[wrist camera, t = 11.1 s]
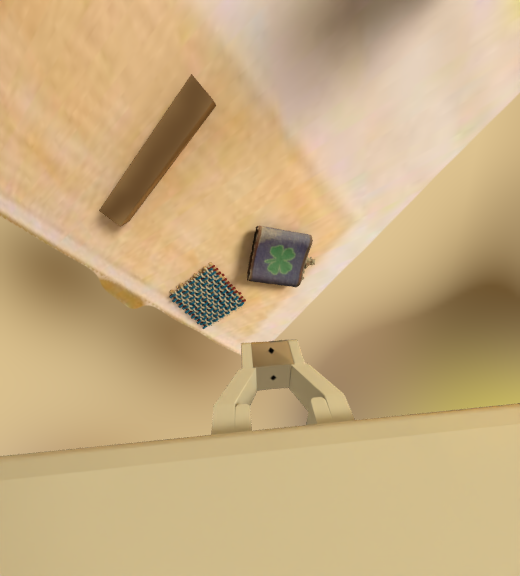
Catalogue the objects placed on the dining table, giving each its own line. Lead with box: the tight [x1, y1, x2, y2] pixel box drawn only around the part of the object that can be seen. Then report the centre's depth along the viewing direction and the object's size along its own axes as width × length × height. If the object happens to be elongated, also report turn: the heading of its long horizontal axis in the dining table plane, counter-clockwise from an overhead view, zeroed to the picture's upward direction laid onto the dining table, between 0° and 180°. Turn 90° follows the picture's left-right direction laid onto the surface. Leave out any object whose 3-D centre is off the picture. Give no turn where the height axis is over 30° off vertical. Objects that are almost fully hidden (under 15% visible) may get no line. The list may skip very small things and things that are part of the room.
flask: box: [247, 226, 315, 287], centre depth 37 cm, size 9×3×11 cm
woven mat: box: [170, 262, 246, 329], centre depth 41 cm, size 10×11×2 cm
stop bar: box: [99, 74, 216, 226], centre depth 29 cm, size 3×20×3 cm, turn 134°
